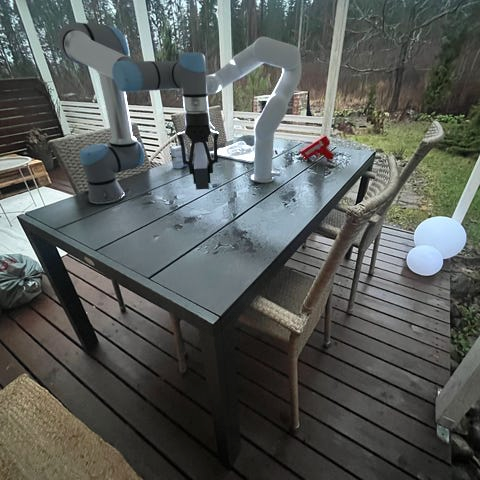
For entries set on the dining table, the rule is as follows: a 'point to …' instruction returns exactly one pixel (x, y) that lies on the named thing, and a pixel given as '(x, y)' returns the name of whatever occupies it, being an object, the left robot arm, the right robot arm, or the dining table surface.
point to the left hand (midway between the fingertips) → (202, 182)
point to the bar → (200, 167)
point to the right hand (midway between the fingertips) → (201, 144)
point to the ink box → (177, 157)
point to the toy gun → (318, 149)
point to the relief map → (237, 152)
